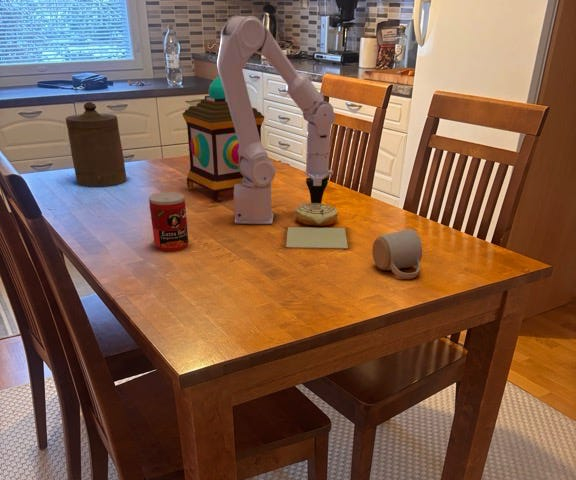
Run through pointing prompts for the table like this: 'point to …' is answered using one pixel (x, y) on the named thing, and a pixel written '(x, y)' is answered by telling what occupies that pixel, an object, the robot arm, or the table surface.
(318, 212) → the decorated donut
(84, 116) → the wooden container
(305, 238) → the placemat
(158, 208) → the canned food
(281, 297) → the table surface
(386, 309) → the table surface
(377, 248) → the ceramic mug
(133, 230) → the table surface
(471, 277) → the table surface
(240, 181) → the decorative lantern
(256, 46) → the robot arm
